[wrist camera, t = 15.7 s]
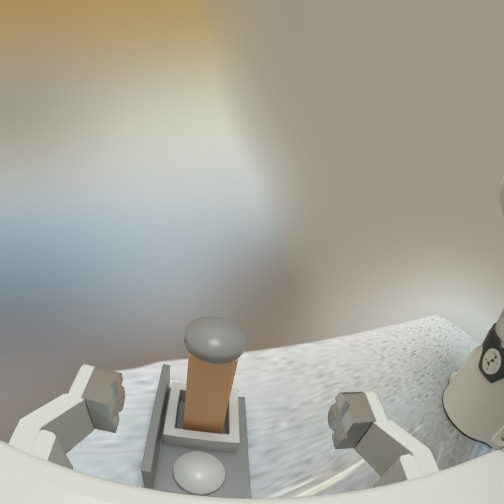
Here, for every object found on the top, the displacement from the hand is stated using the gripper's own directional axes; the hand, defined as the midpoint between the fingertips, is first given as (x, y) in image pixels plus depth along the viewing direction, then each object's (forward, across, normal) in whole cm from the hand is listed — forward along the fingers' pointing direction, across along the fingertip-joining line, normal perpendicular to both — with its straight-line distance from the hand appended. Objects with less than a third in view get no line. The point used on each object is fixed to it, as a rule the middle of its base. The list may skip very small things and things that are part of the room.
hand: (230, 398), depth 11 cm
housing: (+11, +1, +22) cm, 25 cm away
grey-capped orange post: (+14, 0, +21) cm, 25 cm away
